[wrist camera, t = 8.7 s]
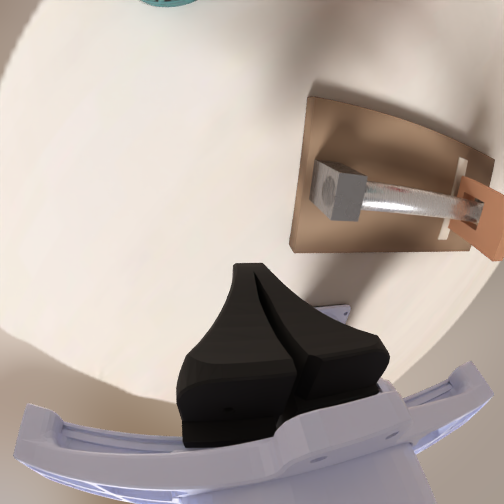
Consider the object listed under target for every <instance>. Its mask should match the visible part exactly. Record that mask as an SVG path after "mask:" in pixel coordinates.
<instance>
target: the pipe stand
mask: <svg viewBox="0 0 504 504" xmlns="http://www.w3.org/2000/svg"><path fill="white" fill-rule="evenodd" d="M367 178H368V176H366V175H364V174H362V173H360V172H358V171H356V170H354V169H352V168H350V167H348V166H346V165H344V164H342V163H340V162H332V161H324V160H316V159H315V160H314V167H313V175H312V182H311V189H310V195H309V200H310V201H311V202H312V203H313V204H314V205H315V206H316V207H318V208H319V209H320V210H321V211H322V212H323V213H324V214H325V215H326V216H327V217H328V218H329V219H330V220H332V221H354V222H358V220H359V216H360V212H361V210H366V211H379V212H390V213H401V214H411V215H421V216H430V217H439V218H447V219H455V220H463V221H470V222H477V223H479V220H480V216H481V213H482V210H483V206H484V202H482V201H480V200H479V199H477V198H476V201H472V200H468V199H464V198H460V197H455V196H451V195H446V194H442V193H437V192H432V191H427V190H422V189H416V188H411V187H405V186H399V185H393V184H387V183H381V182H374V181H367Z"/></svg>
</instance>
